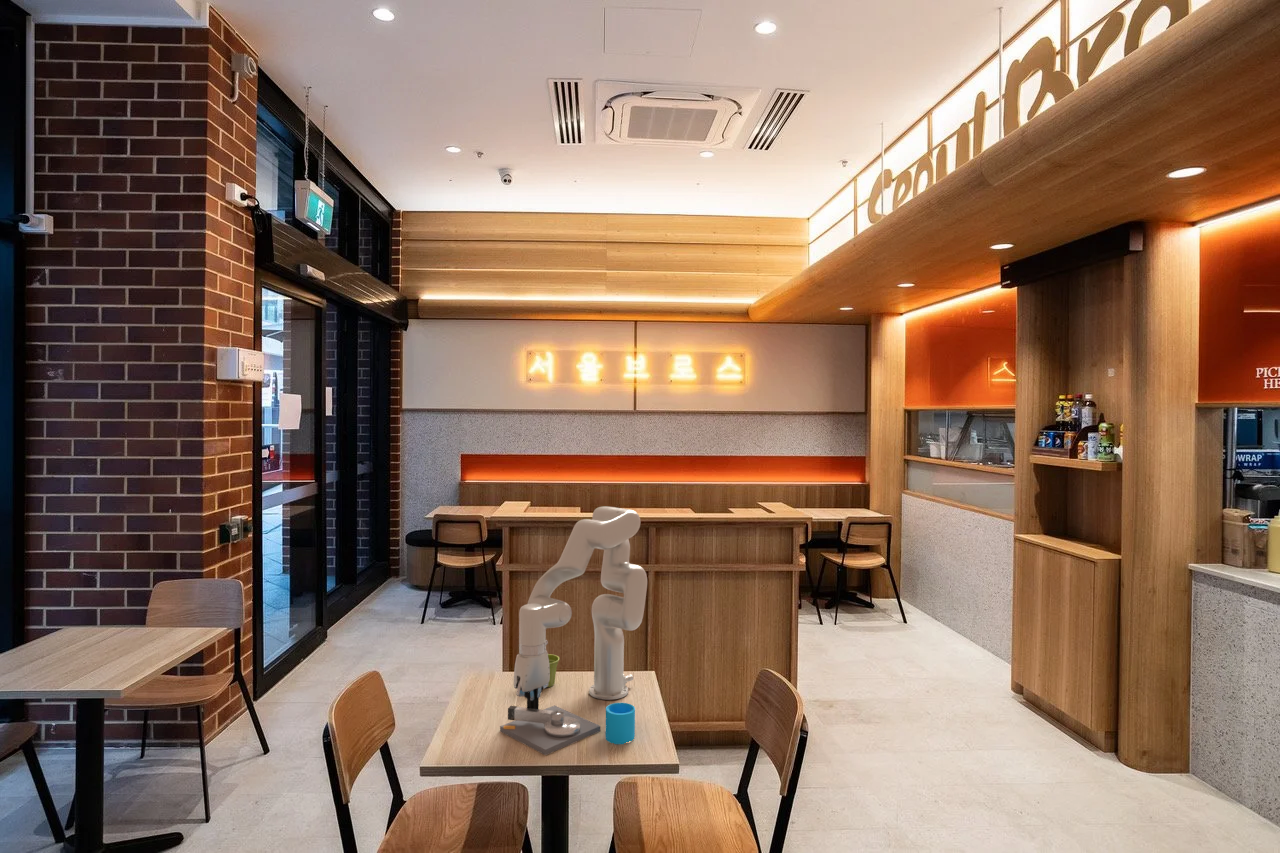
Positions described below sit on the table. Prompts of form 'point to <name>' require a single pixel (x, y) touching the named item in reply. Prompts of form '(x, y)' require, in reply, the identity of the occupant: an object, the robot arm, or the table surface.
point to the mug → (620, 723)
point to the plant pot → (552, 668)
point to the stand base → (540, 740)
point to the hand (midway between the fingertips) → (532, 711)
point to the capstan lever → (547, 720)
